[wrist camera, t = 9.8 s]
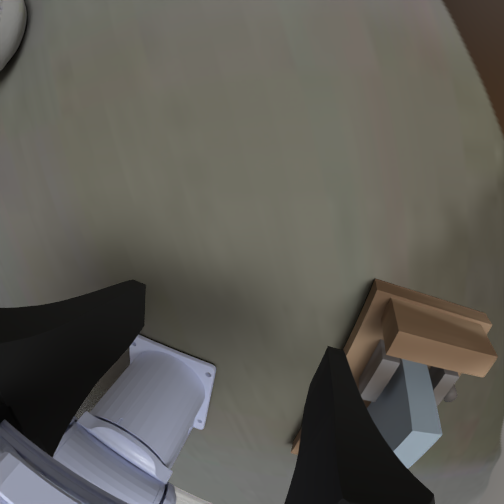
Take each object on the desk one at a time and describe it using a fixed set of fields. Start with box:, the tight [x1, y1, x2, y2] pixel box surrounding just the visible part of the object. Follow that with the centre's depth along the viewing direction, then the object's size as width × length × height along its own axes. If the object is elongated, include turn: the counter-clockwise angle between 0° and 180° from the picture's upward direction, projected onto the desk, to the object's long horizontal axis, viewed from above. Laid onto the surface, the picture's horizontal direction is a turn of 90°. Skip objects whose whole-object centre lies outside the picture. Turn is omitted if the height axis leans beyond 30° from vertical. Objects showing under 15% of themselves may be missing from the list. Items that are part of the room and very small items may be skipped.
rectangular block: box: [367, 358, 442, 469], centre depth 18 cm, size 10×3×6 cm, turn 168°
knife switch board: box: [291, 279, 498, 455], centre depth 20 cm, size 18×9×5 cm, turn 168°
